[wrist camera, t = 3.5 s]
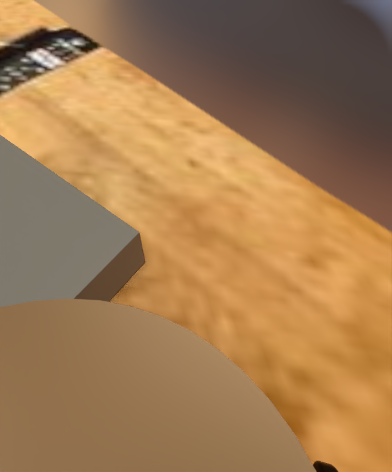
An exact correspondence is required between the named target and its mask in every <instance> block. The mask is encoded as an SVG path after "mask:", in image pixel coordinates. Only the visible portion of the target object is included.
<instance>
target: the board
mask: <svg viewBox="0 0 392 472" xmlns="http://www.w3.org/2000/svg"><path fill="white" fill-rule="evenodd" d="M144 263H145V258H144V253H143V248H142V243H141V238H140V233H139V232H138V231H137V230H135V229H134V228H132V227H131V226H130V225H128V224H127V223H125V222H124V221H122V220H121V219H120V218H118V217H117V216H115V215H114V214H112V213H111V212H110V211H108V210H107V209H105V208H104V207H102V206H101V205H100V204H98V203H97V202H95V201H94V200H92V199H91V198H90V197H88V196H87V195H85V194H84V193H82V192H81V191H80V190H78V189H77V188H75V187H74V186H72V185H71V184H70V183H68V182H67V181H65V180H64V179H62V178H61V177H60V176H58V175H57V174H55V173H54V172H52V171H51V170H50V169H48V168H47V167H45V166H44V165H42V164H41V163H40V162H38V161H37V160H35V159H34V158H32V157H31V156H30V155H28V154H27V153H25V152H24V151H22V150H21V149H20V148H18V147H17V146H15V145H14V144H12V143H11V142H10V141H8V140H7V139H5V138H4V137H2V136H1V135H0V307H4V306H10V305H15V304H20V303H26V302H31V301H40V300H54V299H85V300H101V301H106V302H109V301H110V300H111V299H112V298H113V297H114V296H115V294H116V293H117V292H118V291H119V290H120V289H121V288H122V287H123V286H124V285H125V284H126V282H127V281H128V280H129V279H130V278H131V277H132V276H133V275H134V274H135V273H136V271H137V270H138V269H139V268H140V267H141V266H142V265H143V264H144Z"/></svg>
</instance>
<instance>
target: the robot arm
mask: <svg viewBox="0 0 392 472" xmlns="http://www.w3.org/2000/svg"><path fill="white" fill-rule="evenodd" d="M313 467H314V468H315V470H316V472H338V471H337V469H336V468H335V467H334V466H333V465H331V464H328V463H324V462H321V461H316V462H314V464H313Z"/></svg>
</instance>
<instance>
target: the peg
mask: <svg viewBox="0 0 392 472" xmlns="http://www.w3.org/2000/svg"><path fill="white" fill-rule="evenodd" d="M0 472H316V470H315V468H314V467H313V465H312V463H311V461H310V460H309V458H308V456H307V454H306V453H305V451H304V449H303V447H302V446H301V444H300V442H299V440H298V439H297V437H296V435H295V434H294V433H293V431H292V430H291V428H290V427H289V426H288V424H287V423H286V422H285V420H284V419H283V417H282V416H281V415H280V413H279V412H278V410H277V409H276V408H275V406H274V405H273V403H272V402H271V401H270V400H269V399H268V397H267V396H266V395H265V394H264V393H263V392H262V391H261V390H260V389H259V388H258V386H257V385H256V384H255V383H254V382H253V381H252V380H251V379H250V378H249V376H248V375H247V374H246V373H245V372H244V371H243V370H242V369H240V368H239V367H238V366H237V365H236V364H235V363H233V362H232V361H231V360H230V359H229V358H228V357H227V356H225V355H224V354H223V353H222V352H221V351H220V350H219V349H217V348H216V347H214V346H213V345H211V344H210V343H208V342H207V341H205V340H204V339H202V338H201V337H199V336H198V335H196V334H195V333H193V332H192V331H190V330H188V329H186V328H184V327H182V326H180V325H178V324H176V323H174V322H172V321H170V320H168V319H166V318H164V317H162V316H159V315H156V314H153V313H150V312H147V311H144V310H141V309H138V308H135V307H132V306H128V305H122V304H117V303H112V302H106V301H101V300H85V299H54V300H40V301H31V302H26V303H20V304H15V305H10V306H4V307H0Z"/></svg>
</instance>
